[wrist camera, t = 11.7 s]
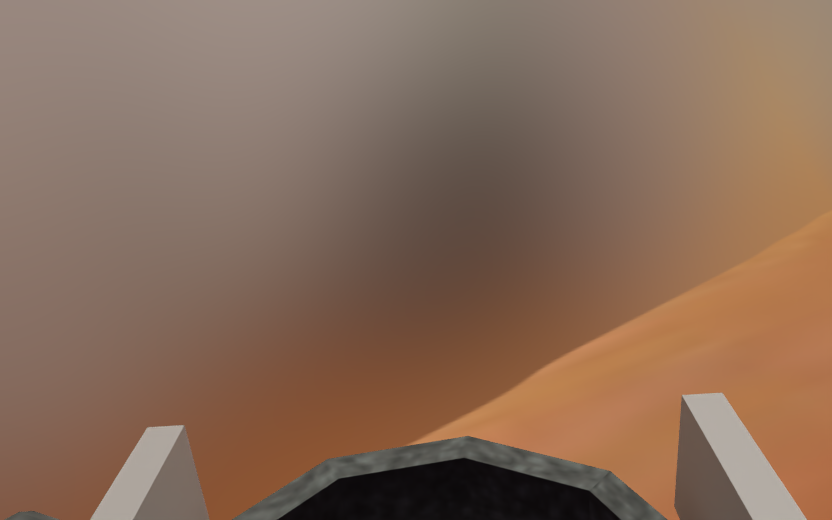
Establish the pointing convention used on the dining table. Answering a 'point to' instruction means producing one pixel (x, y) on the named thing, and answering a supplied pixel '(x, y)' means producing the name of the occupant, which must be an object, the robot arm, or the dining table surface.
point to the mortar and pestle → (448, 488)
